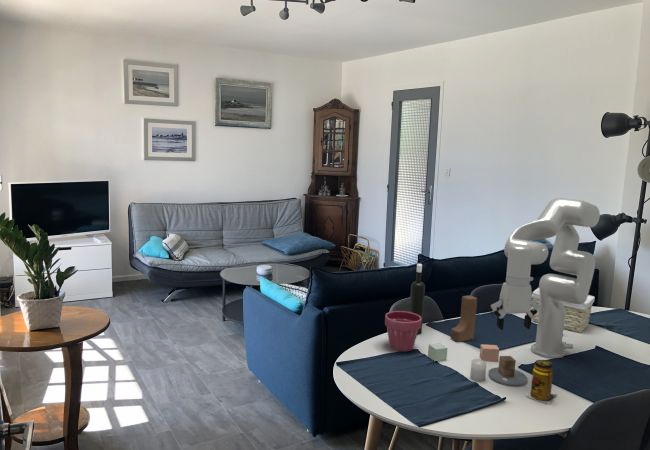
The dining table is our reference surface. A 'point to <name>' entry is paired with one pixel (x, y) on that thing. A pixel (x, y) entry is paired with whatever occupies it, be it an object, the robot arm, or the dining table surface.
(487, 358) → the terracotta brick
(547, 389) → the condiment
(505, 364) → the walnut block
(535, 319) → the storage basket
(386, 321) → the plant pot
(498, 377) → the slate coaster
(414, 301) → the wine bottle
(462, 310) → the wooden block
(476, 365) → the grey cylinder
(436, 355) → the sage cube
